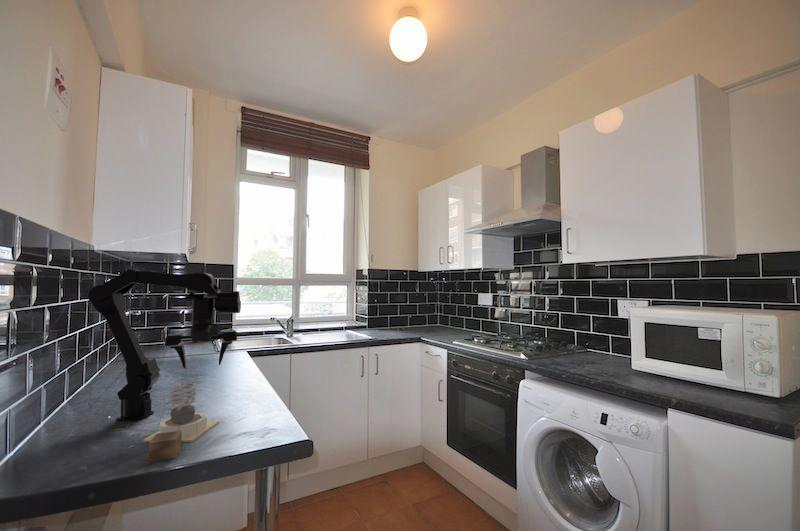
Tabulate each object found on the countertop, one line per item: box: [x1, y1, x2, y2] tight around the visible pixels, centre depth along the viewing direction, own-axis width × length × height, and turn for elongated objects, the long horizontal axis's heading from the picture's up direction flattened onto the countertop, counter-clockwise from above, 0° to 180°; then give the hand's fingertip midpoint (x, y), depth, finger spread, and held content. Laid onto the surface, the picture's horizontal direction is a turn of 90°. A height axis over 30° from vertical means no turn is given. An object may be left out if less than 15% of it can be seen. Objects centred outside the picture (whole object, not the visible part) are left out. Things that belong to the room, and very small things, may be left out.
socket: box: [142, 412, 220, 443], centre depth 92 cm, size 12×12×3 cm
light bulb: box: [170, 381, 197, 426], centre depth 92 cm, size 6×6×12 cm
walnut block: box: [148, 431, 182, 462], centre depth 80 cm, size 5×5×4 cm
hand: (202, 366), depth 108 cm, fingers open, 9 cm apart
